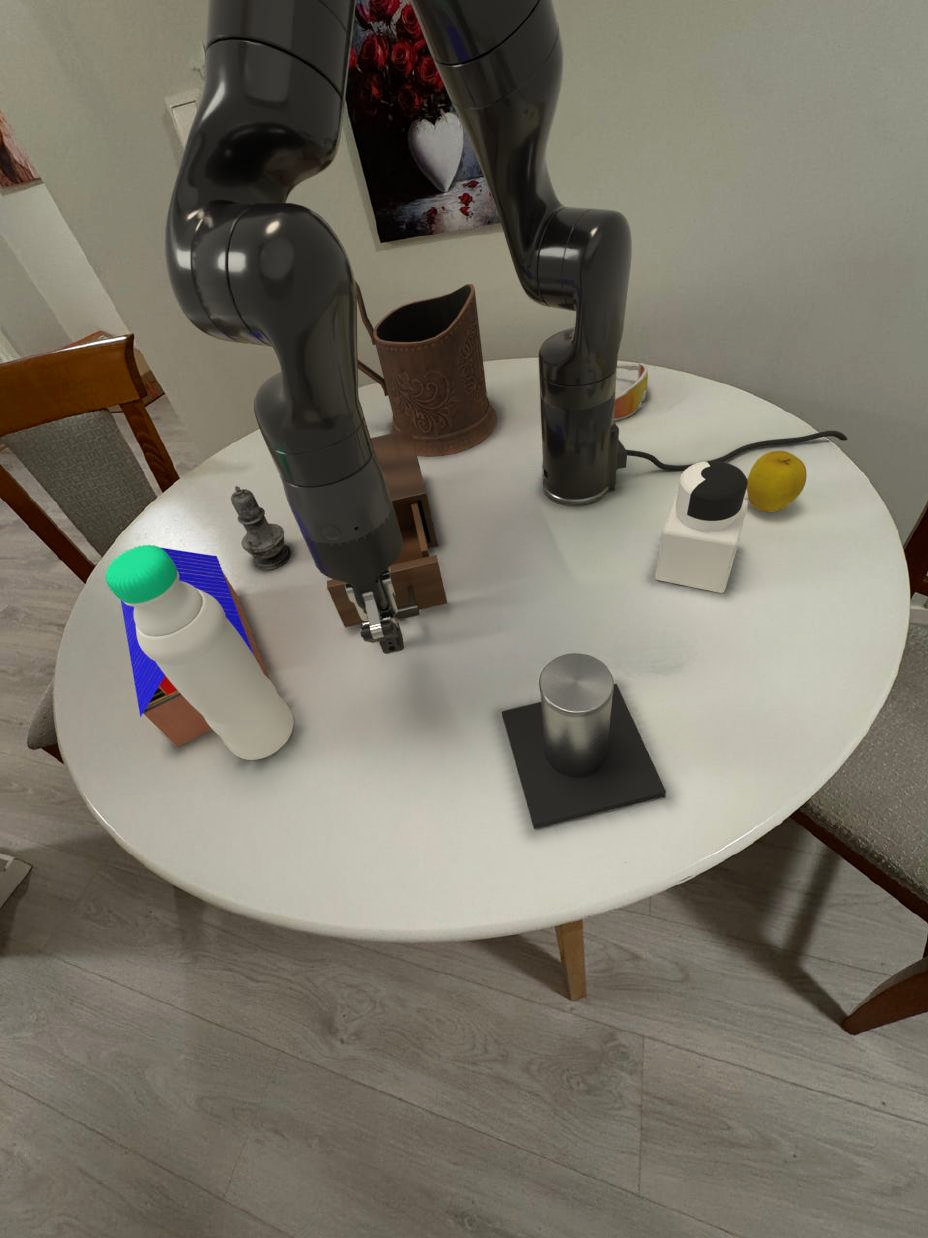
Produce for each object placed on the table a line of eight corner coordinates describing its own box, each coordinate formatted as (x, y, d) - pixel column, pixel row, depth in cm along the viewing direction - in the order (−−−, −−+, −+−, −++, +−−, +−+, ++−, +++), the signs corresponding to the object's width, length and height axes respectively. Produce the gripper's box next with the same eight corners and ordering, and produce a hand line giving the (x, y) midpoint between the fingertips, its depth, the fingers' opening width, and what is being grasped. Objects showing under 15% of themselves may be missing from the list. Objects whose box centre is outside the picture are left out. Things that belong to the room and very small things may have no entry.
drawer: (454, 629, 67) (444, 587, 62) (346, 654, 66) (327, 614, 61) (429, 528, 79) (419, 486, 74) (339, 549, 79) (323, 509, 74)
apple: (777, 529, 71) (796, 474, 66) (730, 508, 75) (744, 455, 69) (805, 503, 74) (826, 448, 68) (758, 485, 77) (773, 431, 71)
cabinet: (438, 546, 78) (426, 492, 72) (338, 569, 78) (316, 518, 71) (422, 480, 89) (410, 428, 82) (333, 501, 88) (314, 450, 82)
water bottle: (234, 711, 64) (98, 541, 46) (297, 698, 64) (186, 522, 46) (227, 769, 60) (72, 604, 41) (294, 755, 60) (170, 584, 41)
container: (734, 550, 70) (760, 457, 60) (723, 595, 66) (750, 502, 56) (668, 538, 73) (683, 448, 63) (654, 580, 69) (667, 490, 59)
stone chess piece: (283, 572, 79) (246, 501, 70) (245, 570, 80) (204, 500, 71) (299, 543, 83) (266, 472, 74) (262, 542, 84) (226, 472, 75)
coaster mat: (615, 688, 60) (616, 683, 59) (665, 796, 52) (666, 792, 51) (502, 716, 59) (501, 711, 59) (533, 829, 51) (533, 824, 51)
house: (174, 750, 62) (110, 688, 53) (149, 632, 75) (94, 567, 66) (280, 698, 65) (235, 630, 56) (239, 592, 77) (197, 524, 69)
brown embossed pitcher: (499, 449, 91) (480, 274, 73) (351, 465, 94) (296, 302, 76) (496, 391, 104) (480, 229, 85) (365, 407, 106) (322, 254, 88)
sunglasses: (629, 429, 90) (627, 398, 86) (543, 425, 98) (538, 397, 94) (661, 385, 97) (660, 355, 94) (578, 385, 105) (574, 357, 102)
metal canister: (595, 715, 57) (599, 645, 49) (617, 769, 53) (625, 703, 45) (536, 729, 57) (530, 661, 48) (554, 784, 53) (551, 721, 45)
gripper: (400, 551, 41) (441, 690, 54) (382, 453, 50) (421, 592, 63) (296, 575, 41) (361, 709, 54) (297, 472, 50) (353, 608, 63)
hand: (393, 646), depth 58 cm, fingers closed
